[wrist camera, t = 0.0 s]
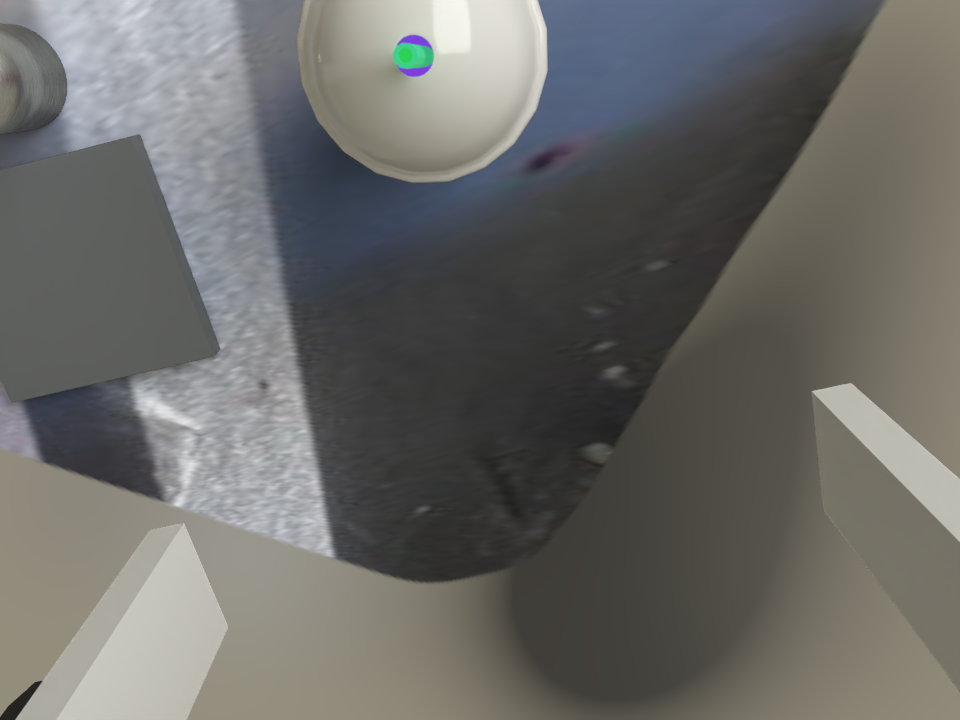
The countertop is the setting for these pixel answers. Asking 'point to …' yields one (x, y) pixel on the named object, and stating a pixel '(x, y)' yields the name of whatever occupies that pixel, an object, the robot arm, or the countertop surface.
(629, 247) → the countertop surface
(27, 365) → the plate
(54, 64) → the grey metal tin
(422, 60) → the smoothie
